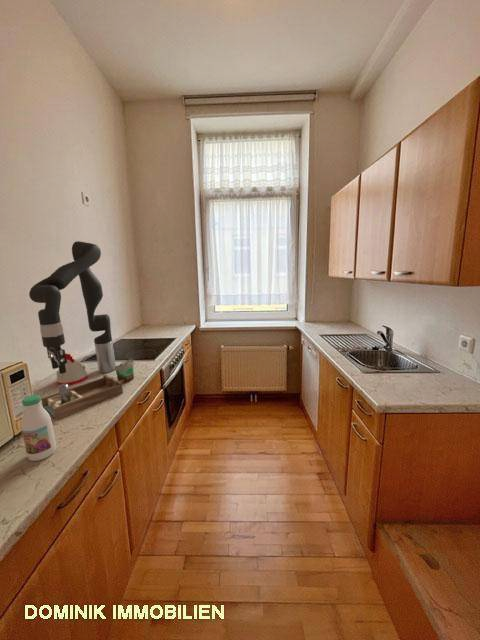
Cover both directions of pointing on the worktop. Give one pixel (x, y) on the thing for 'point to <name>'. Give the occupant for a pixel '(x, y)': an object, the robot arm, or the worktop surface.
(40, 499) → the worktop surface
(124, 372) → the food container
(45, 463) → the worktop surface
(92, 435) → the worktop surface
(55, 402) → the grey beige boxy piece
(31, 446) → the milk bottle
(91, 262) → the robot arm
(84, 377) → the kitchen timer
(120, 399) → the worktop surface
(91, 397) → the bay
